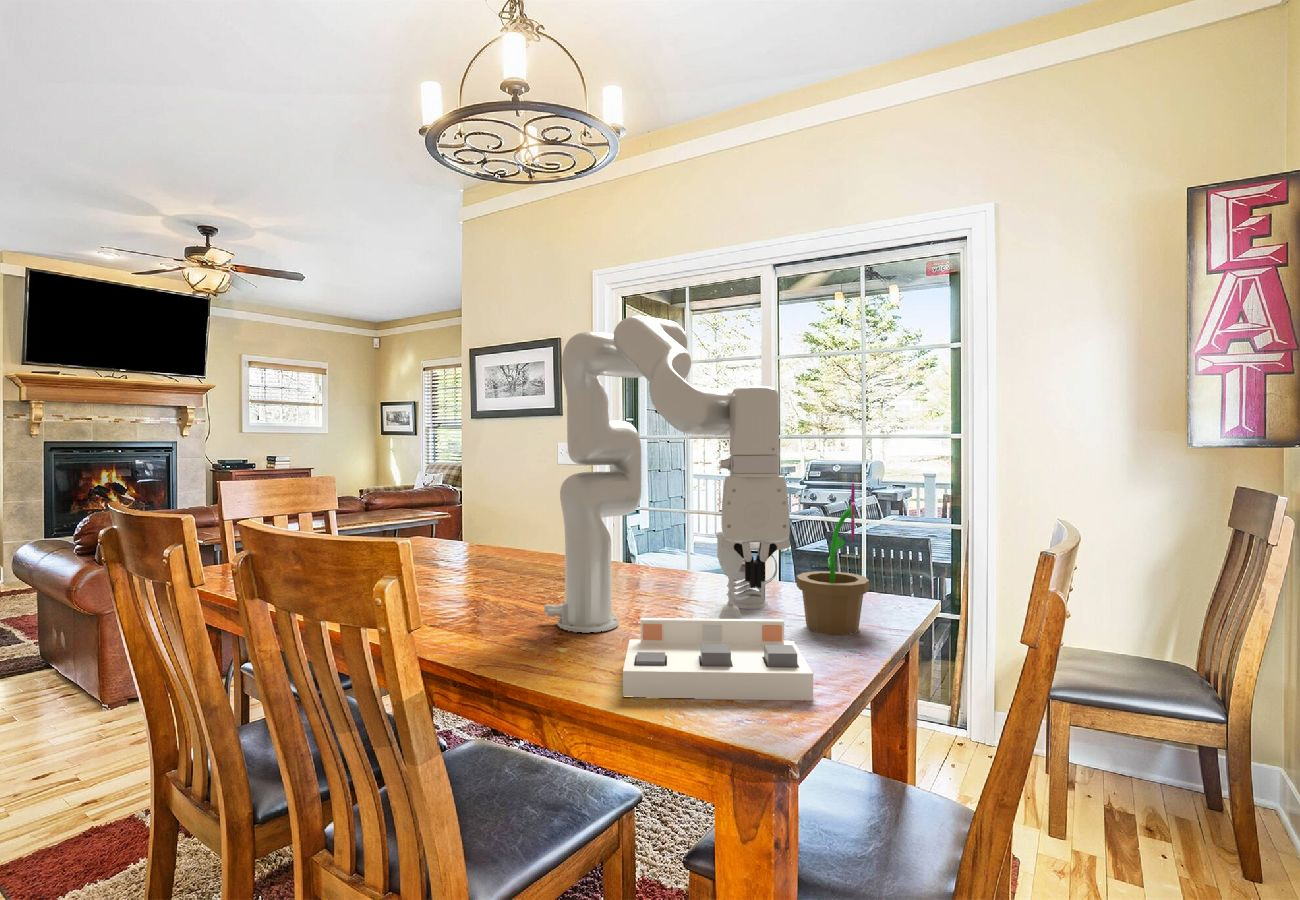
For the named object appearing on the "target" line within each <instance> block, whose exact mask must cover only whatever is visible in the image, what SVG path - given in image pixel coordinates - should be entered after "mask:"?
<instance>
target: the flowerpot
mask: <svg viewBox="0 0 1300 900" xmlns="http://www.w3.org/2000/svg"><path fill="white" fill-rule="evenodd" d="M855 488H856V487H855V483H854V481H852V482H851V491H850V492H851V495H850V496H851V497H850V498H851V499H850V500H851V502H850V503H851V504H850V506H849V507H847V509H846V510H845V512H843V513H842V514H841V516H840V519H839V520H838V522H837V524H836V526H835V528H834V530H833V534H832V539H831V545H830V547H829V548H830V549H829V555H830V556H829V557H828V558H827V568H828V569H829V571H826V570H825V571H820V570H818V571H817V570H816V571H815V570H814V571H807V572H802V573H799V574H798V575H796V587H797V588H798V590H800V591H802V600H803V608H804V617H805V624H806V627H807V629H808V630H810V631H812V632H814V631H815V632H814V633H817V634H818V633H819V634H822V633H823V634H824V635H829V636H846V635H845V634H848V635H851V634H850V633H854V634H856V633H857V632H858V631H859V627H860V621H861V620H860V619H861V613H862V607H863V599H864V595H865V594H867V593H868V592H869V591H870V580H869V579H868V578H867V577H865V576H863V575H861V574H860V575H859V574H856V573H852V572H842V571H841V572H840V571H836V552H838V551H839V550H840V549H842V547H843V546H844V545H845V543H846V542H845V540H844V539H843V538H841V537H840V536H839V532H840V530H841V528H842V526H843V525H844V523H845V521H846V519H847V518H850V538H851V542H853V543H854V541H855V540H854V539H855V494H856V493H855V492H856V491H855V490H856V489H855ZM857 630H858V631H857ZM856 631H857V632H856ZM855 632H856V633H855ZM823 634H822V635H823ZM843 634H844V635H843Z"/></svg>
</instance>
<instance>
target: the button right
mask: <svg viewBox="0 0 1300 900" xmlns="http://www.w3.org/2000/svg"><path fill="white" fill-rule="evenodd" d="M764 663H765V665H766V667H789V668H797V652H796V650H795V649H794V647H793V645H764Z"/></svg>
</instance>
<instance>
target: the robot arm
mask: <svg viewBox="0 0 1300 900" xmlns="http://www.w3.org/2000/svg"><path fill="white" fill-rule="evenodd" d="M687 337H688V336H687V335H686V332H685V331H684V328H682V327H681V326H680V325H679V324H678V323H677V322H676V321H673V320H670V319H669V320H668V319H663V318H656V317H650V316H644V315H632V316H628V317H625V318H623V319H622V320H620V322H618V323H617V325H616V326H615V328H614V330H613V333H609V332H601V331H586V332H585V331H584V332H578V333H576V334H574V335H573V336H571V337H570V338H569V339H568V340H567V343H566V344H565V346H564V349H563V351H562V356H561V374H562V380H563V385H564V388H565V394H566V414H567V415H566V422H567V423H566V424H567V425H566V432H567V434H566V437H567V438H566V441H567V445H566V446H567V453H568V456H569V458H570V460H571V462H573V463H575V464H576V465H580V466H581V465H582V466H609V471H583V472H578V473H577V472H576V473H573V474H571V475H569V476H567V478H565V480H564V481H563V482H562V484H561V487H560V489H559V490H560V492H559V496H560V497H559V498H560V499H559V500H560V506H561V510H562V511H561V512H562V515H563V524H564V555H565V556H564V558H565V559H564V565H565V566H564V568H565V569H564V572H565V573H564V575H565V578H564V579H565V580H564V581H565V582H564V583H565V585H564V587H565V588H564V592H565V593H564V594H565V595H564V602H563V603H562V602H561V603H559V604H557V605H555V604H544V608H543V609H544V611H543V613H544V615H547V616H549V617H555V616H558V617H559V618H558V619H557V627H558V626H559V627H560V628H559V627H558V628H559V629H561V628H562V629H564V630H563V631H565V630H568V631H567V632H570V631H573V632H572V633H577V632H582V633H581V634H591V633H590V632H594V633H600V632H601V631H602V632H607V631H610V630H614V629H615V628H617V627H618V626H619V625H620V619H619V617H618V616H617V615H615V614H612V538H611V534H610V532H609V529H608V528H607V527H606V525H605V523H604V522H603V519H604V518H609V517H611V518H612V517H620V516H627V515H631V514H632V513H634V512H635V511H637V509H638V507H639V506H640V503H641V497H642V443H641V438H640V435H639V432H638V430H637V429H636V427H635V426H634V425H633V424H632V423H630V422H628V421H625V420H620V419H619V420H616V419H610V416H609V415H610V414H609V397H608V394H607V392H606V390H605V388H604V386H603V384H602V382H601V381H600V380H599V378H597V377H598V376H603V377H613V378H614V377H615V378H617V377H618V378H627V379H630V378H631V379H637V378H642V377H644V378H645V379H646V381H648V383H649V384H648V389H649V390H648V391H649V396H650V400H651V401H650V402H651V403H652V406H653V407H654V410H656V412H657V413H658V414H659V415H660V416H661V417H662V418H663V419H664V420H665V421H666V422H667V423H668V424H669V425H670V426H672V427H673V428H674V429H676V430H677V431H679V432H681V433H683V434H686V435H691V436H702V435H703V436H729V457H728V458H725V459H720V469H725V470H728V471H729V475H726V476H725V478H724V482H723V483H724V484H723V489H722V490H723V491H722V498H721V500H722V501H721V503H722V504H721V532H722V536H721V540H720V546H721V547H722V548H726V549H730V550H735V551H736V552H737V553H738V554H739V555H740V556H741V557H742V558H743V560H745V579H744V580H745V581H746V582H749V583H748V584H749V585H750V587H751V588H750V589H755V588H754V587H758V588H761V582H765V581H766V562H767V561H768V559H769V558H770V557H772V556H771V555H773V554H774V553H775V552H776V551H781V550H784V549H788V548H790V546H791V540H790V533H791V525H790V522H791V520H790V519H791V518H790V505H789V504H790V503H789V494H788V493H789V492H788V486H787V481H786V478H785V476H784V475H780V398H779V393H778V391H777V389H775V388H774V387H771V386H764V385H763V386H762V385H748V386H747V385H746V386H745V385H744V386H740V387H737V388H733V389H724V388H714V387H697V386H693V385H691V384H690V383H688V382H687V381H686V379H687V378H688V375H689V373H690V372H691V368H692V358H691V355H690V353H689V352H688V349H687V348H688V339H687ZM739 542H741V544H740V543H739ZM750 542H760V544H759V550H758V552H757V555H756V558H755V561H754V556H753V555H752V550H751V548H750ZM765 583H766V582H765ZM562 629H561V630H562Z"/></svg>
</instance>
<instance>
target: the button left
mask: <svg viewBox="0 0 1300 900" xmlns="http://www.w3.org/2000/svg"><path fill="white" fill-rule="evenodd" d="M636 666H665V652H637V658H636Z"/></svg>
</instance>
